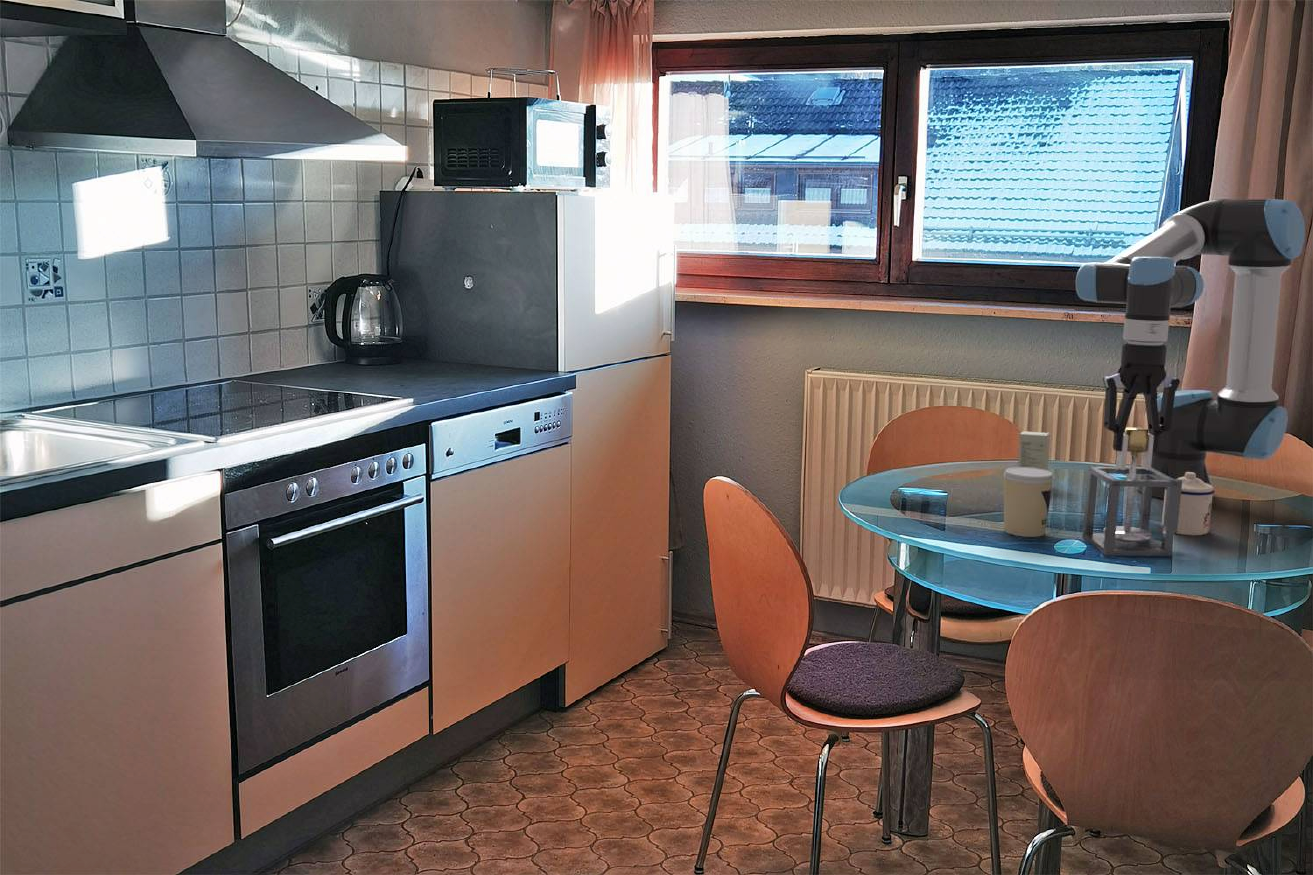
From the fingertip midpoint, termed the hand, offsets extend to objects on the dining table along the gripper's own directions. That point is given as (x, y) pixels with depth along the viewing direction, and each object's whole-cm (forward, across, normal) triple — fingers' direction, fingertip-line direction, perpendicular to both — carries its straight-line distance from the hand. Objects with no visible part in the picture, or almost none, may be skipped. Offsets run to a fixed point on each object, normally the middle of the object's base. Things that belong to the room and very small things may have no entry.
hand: (1133, 468), depth 222 cm
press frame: (+15, +2, 0) cm, 15 cm away
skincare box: (+15, -2, +50) cm, 52 cm away
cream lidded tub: (+15, -16, +10) cm, 24 cm away
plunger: (+13, 0, 0) cm, 13 cm away
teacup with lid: (+15, +17, +14) cm, 27 cm away
